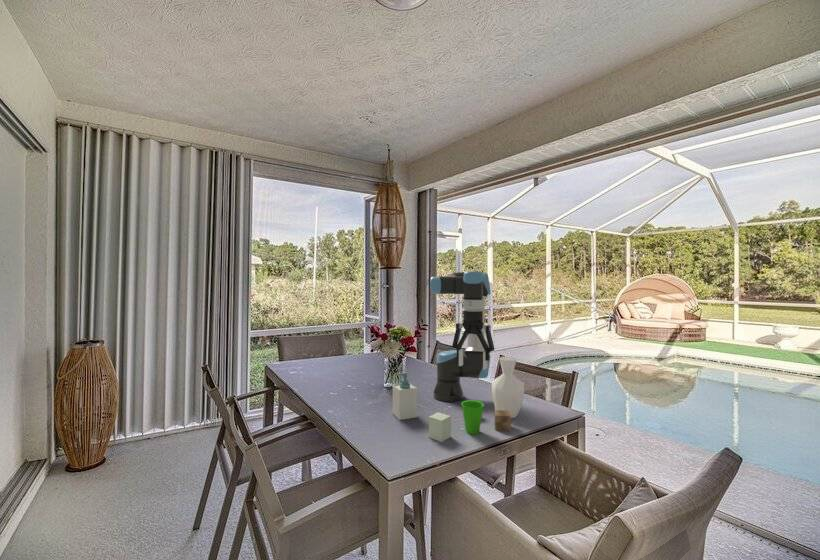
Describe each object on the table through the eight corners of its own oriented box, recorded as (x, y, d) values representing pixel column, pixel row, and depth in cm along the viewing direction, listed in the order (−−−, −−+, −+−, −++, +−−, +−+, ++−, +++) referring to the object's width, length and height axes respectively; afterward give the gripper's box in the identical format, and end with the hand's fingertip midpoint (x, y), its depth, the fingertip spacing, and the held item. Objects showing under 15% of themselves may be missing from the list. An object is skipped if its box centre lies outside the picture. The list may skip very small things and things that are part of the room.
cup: (458, 427, 149) (458, 400, 149) (480, 426, 150) (480, 399, 150) (463, 437, 140) (463, 408, 140) (487, 436, 141) (487, 407, 141)
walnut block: (495, 430, 147) (495, 415, 146) (494, 424, 152) (494, 410, 152) (510, 431, 145) (510, 416, 145) (509, 425, 151) (509, 411, 151)
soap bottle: (392, 413, 164) (392, 371, 164) (410, 410, 168) (410, 369, 168) (399, 420, 156) (399, 375, 156) (417, 417, 160) (417, 373, 160)
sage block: (428, 437, 140) (428, 416, 140) (438, 432, 144) (438, 412, 144) (441, 442, 136) (441, 420, 136) (450, 436, 140) (450, 415, 140)
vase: (506, 423, 153) (506, 363, 153) (484, 412, 166) (484, 357, 166) (531, 417, 160) (531, 360, 160) (508, 407, 172) (508, 354, 172)
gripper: (443, 309, 147) (443, 365, 147) (497, 312, 136) (497, 372, 136) (451, 308, 154) (451, 361, 154) (503, 310, 142) (503, 368, 142)
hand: (472, 367), depth 145 cm, fingers open, 9 cm apart
